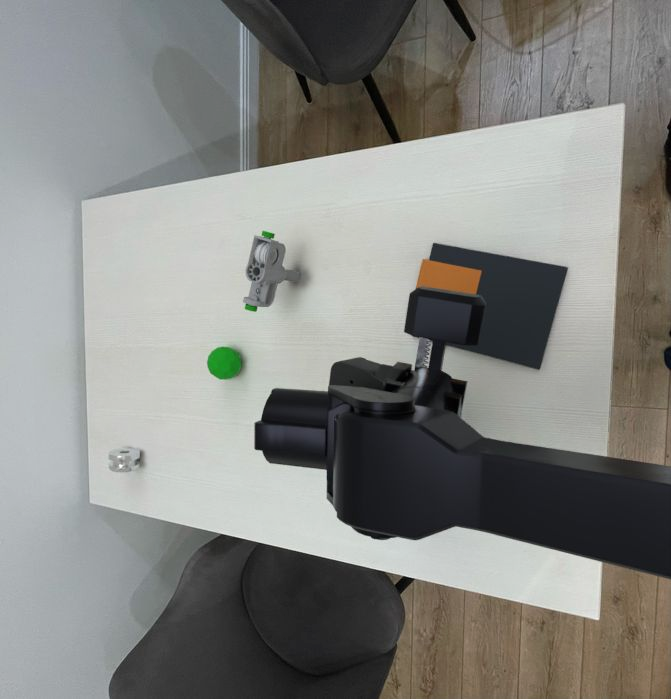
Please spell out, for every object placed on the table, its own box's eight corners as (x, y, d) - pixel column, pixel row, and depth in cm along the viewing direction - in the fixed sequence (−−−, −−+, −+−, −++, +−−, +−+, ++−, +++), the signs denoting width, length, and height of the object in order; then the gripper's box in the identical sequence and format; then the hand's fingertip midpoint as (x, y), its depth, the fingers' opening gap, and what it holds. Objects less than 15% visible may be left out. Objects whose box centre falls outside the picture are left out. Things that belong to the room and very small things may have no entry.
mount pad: (568, 267, 61) (567, 267, 60) (539, 369, 63) (538, 369, 62) (428, 242, 68) (426, 241, 67) (406, 334, 70) (405, 334, 69)
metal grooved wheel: (146, 451, 93) (123, 457, 88) (146, 467, 93) (122, 475, 89) (125, 446, 95) (102, 452, 91) (125, 462, 95) (101, 470, 91)
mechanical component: (279, 307, 79) (236, 306, 70) (296, 238, 77) (254, 228, 68) (295, 313, 78) (254, 313, 69) (313, 243, 76) (273, 233, 67)
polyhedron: (217, 368, 85) (196, 371, 80) (227, 340, 83) (206, 341, 79) (240, 383, 83) (220, 387, 78) (251, 354, 82) (231, 357, 77)
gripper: (328, 283, 40) (381, 271, 55) (302, 506, 45) (357, 441, 59) (479, 308, 37) (493, 288, 51) (435, 545, 42) (459, 466, 56)
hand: (444, 375), depth 55 cm, fingers open, 9 cm apart
